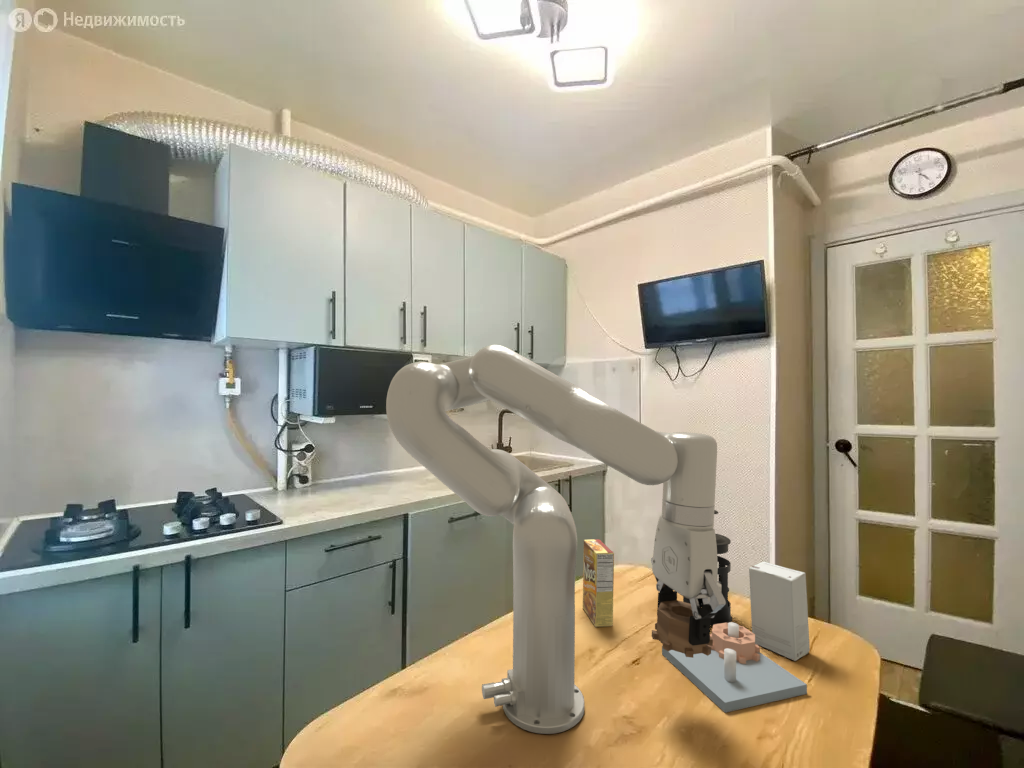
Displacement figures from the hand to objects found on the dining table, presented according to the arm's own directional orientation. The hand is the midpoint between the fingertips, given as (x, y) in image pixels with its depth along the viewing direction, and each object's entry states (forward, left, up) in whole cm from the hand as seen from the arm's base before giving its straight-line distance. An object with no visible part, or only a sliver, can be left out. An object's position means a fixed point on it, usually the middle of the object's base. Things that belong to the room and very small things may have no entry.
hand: (682, 628), depth 70 cm
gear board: (+14, +6, -12) cm, 19 cm away
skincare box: (+29, +10, -12) cm, 33 cm away
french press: (+24, +24, -12) cm, 36 cm away
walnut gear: (0, 0, -2) cm, 2 cm away
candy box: (+1, +30, -12) cm, 32 cm away
